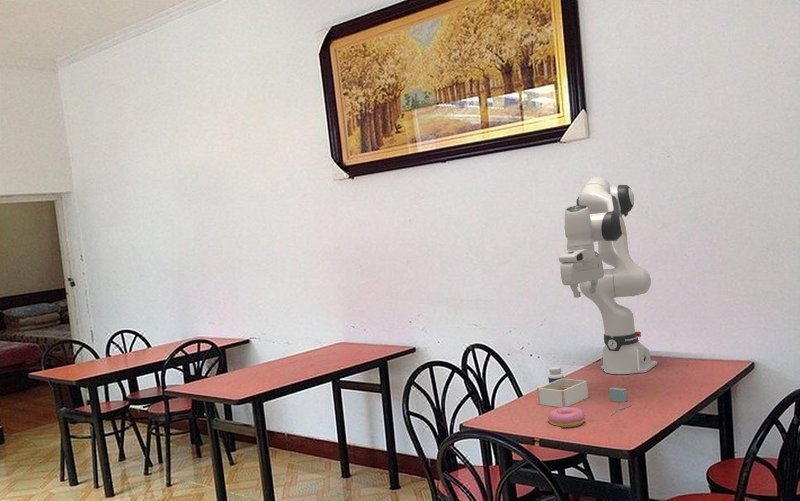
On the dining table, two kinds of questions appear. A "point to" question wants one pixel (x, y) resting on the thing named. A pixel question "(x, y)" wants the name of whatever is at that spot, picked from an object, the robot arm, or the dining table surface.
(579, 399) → the tub
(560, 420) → the doughnut
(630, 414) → the dining table surface
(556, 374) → the pill bottle
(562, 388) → the block
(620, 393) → the lid
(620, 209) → the robot arm
